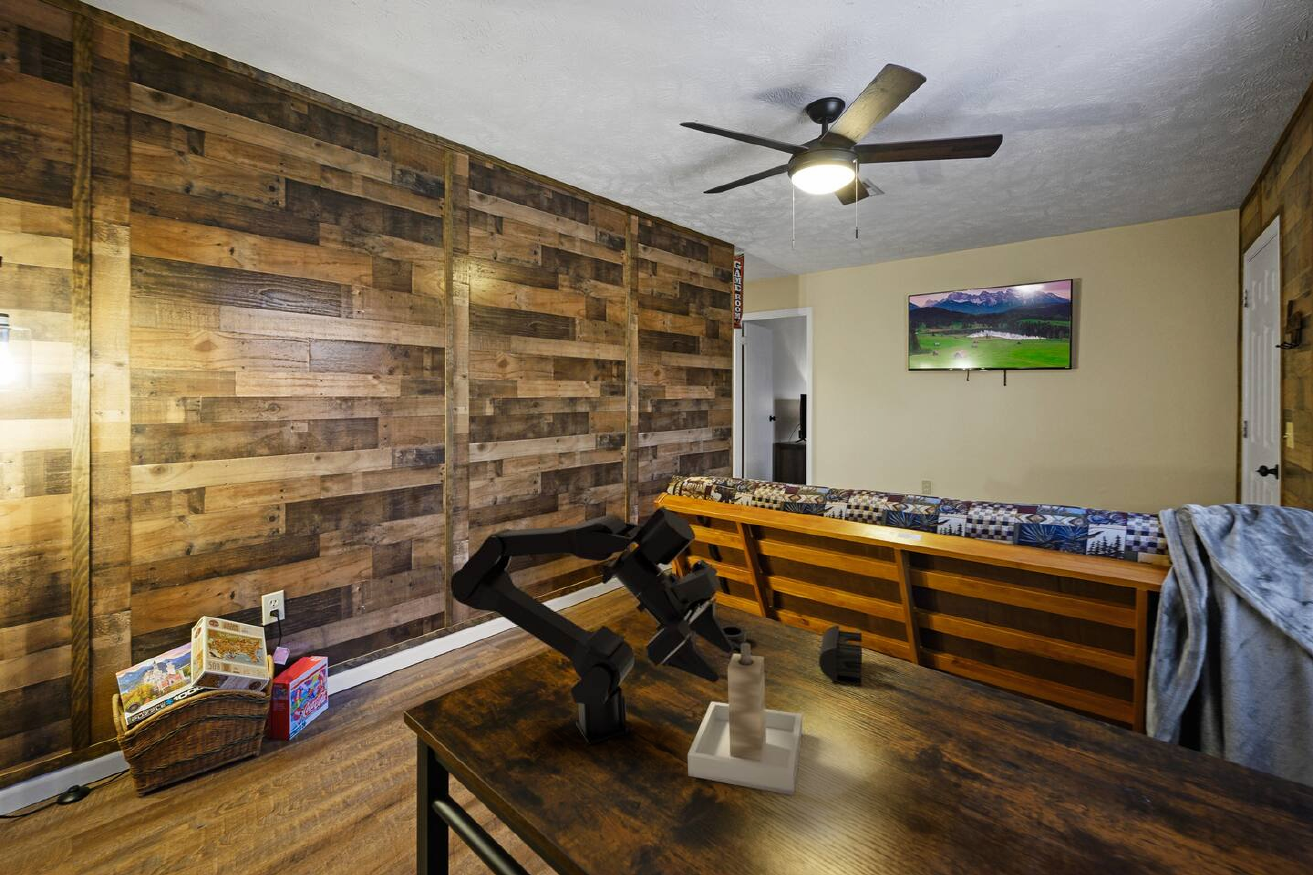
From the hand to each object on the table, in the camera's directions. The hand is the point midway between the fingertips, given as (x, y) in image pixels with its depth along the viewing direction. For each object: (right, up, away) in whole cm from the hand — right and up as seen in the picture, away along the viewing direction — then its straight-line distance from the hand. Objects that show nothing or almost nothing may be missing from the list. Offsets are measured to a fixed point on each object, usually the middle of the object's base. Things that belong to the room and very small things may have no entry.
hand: (724, 664), depth 82 cm
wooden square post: (+3, -12, 0) cm, 13 cm away
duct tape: (+6, -10, +36) cm, 38 cm away
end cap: (+24, -11, +23) cm, 35 cm away
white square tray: (+3, -13, 0) cm, 13 cm away
